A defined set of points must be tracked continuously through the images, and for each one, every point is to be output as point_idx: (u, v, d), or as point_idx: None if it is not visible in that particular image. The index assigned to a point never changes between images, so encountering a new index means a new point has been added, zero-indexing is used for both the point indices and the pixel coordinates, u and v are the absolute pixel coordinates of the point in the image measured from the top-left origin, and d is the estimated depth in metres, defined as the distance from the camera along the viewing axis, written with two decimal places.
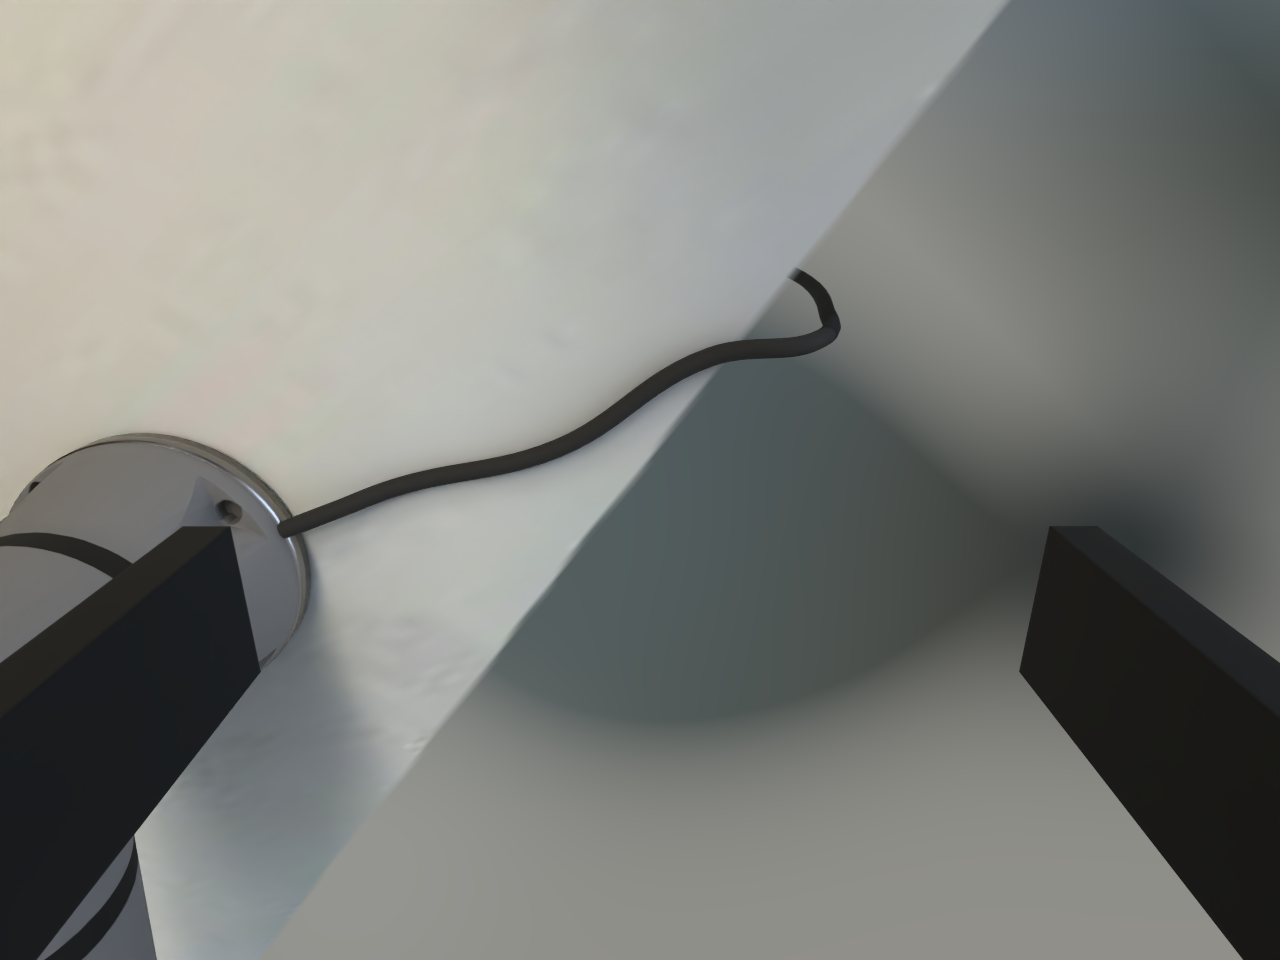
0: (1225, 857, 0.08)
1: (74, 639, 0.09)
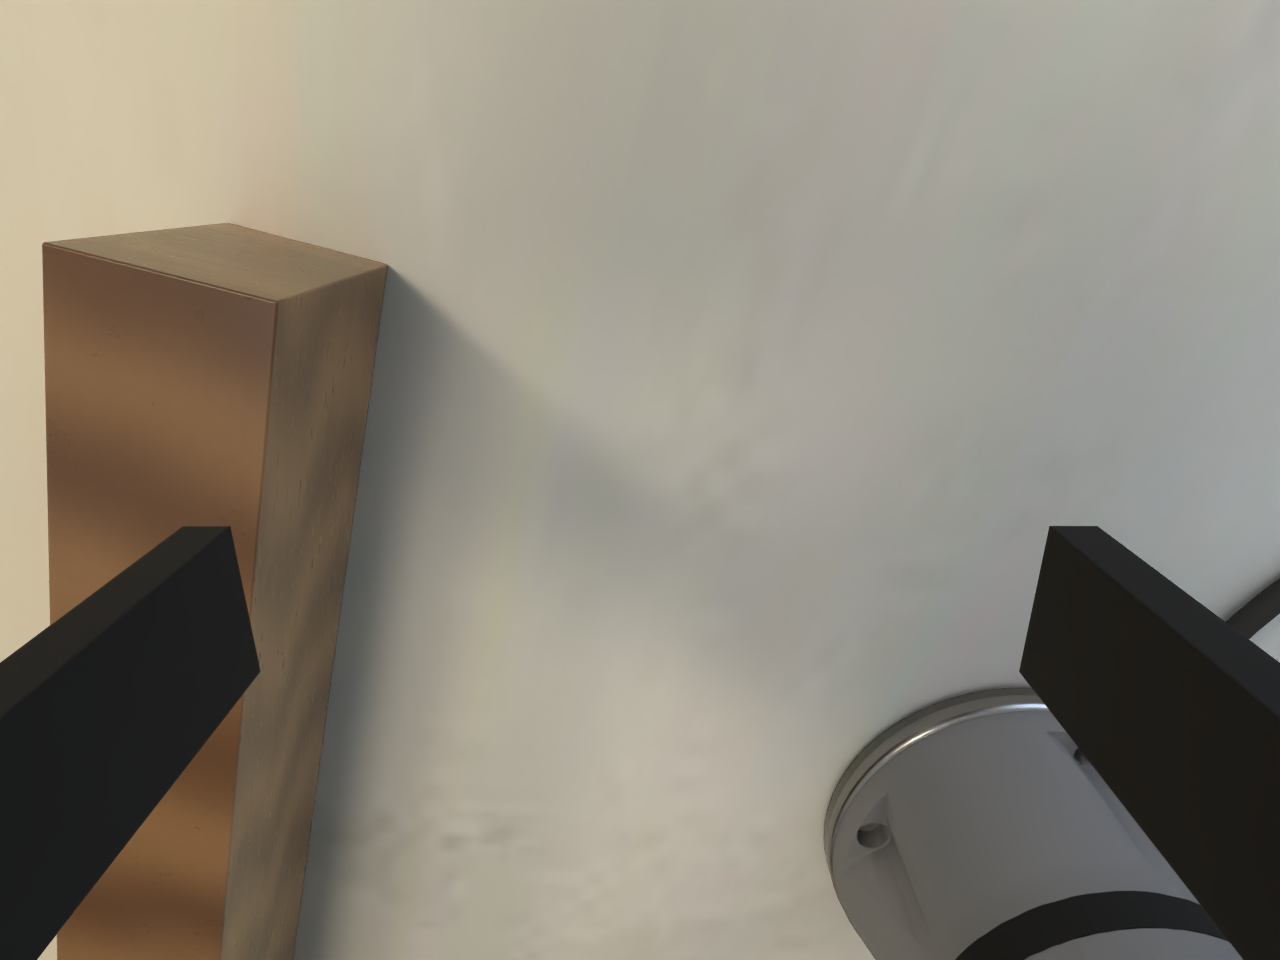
0: (1225, 857, 0.08)
1: (74, 639, 0.09)
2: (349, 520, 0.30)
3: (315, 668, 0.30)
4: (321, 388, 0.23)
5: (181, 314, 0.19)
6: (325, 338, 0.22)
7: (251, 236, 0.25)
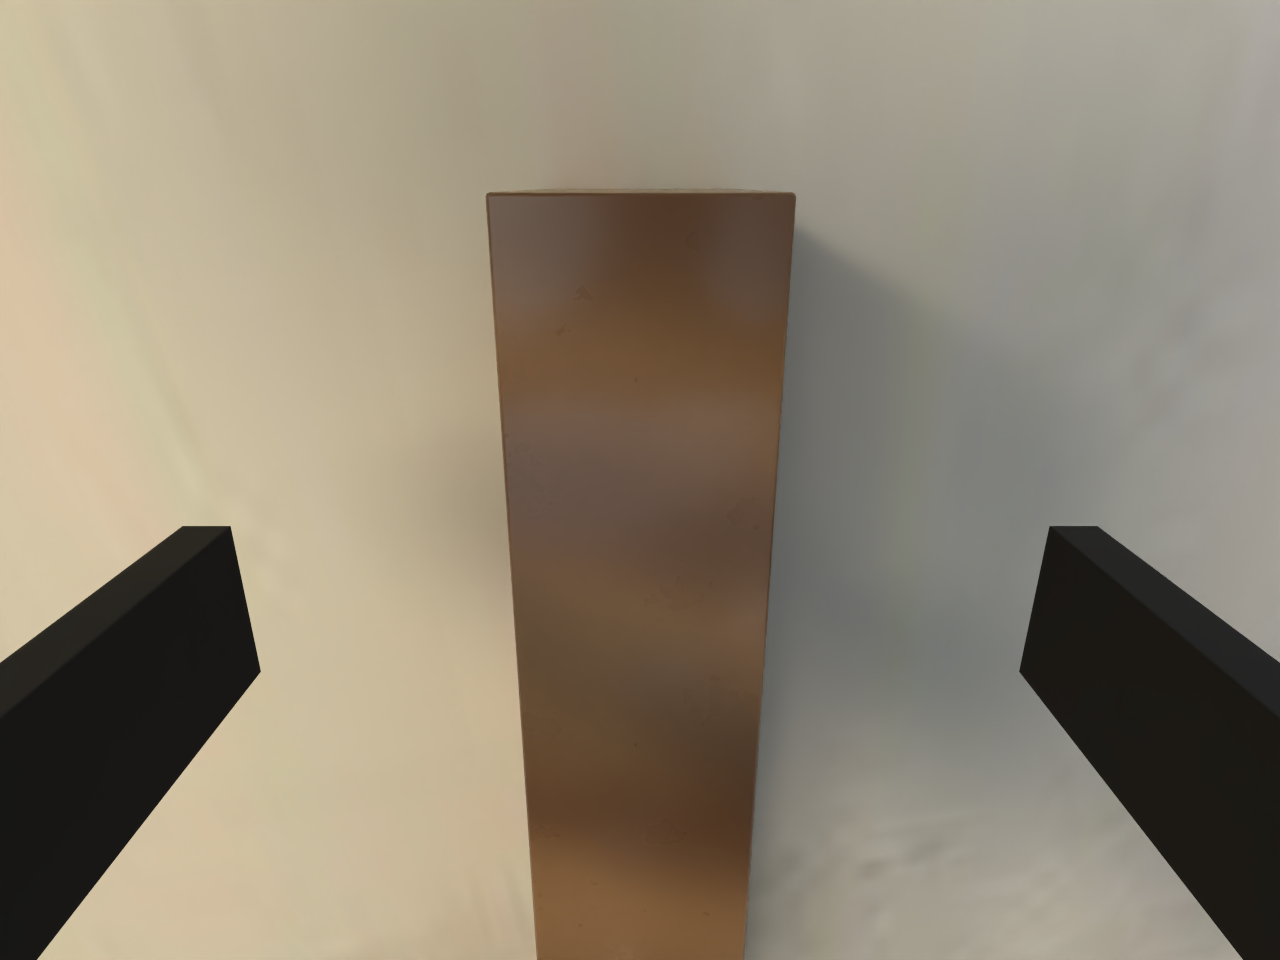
0: (1225, 857, 0.08)
1: (74, 639, 0.09)
2: None
3: None
4: None
5: (669, 246, 0.14)
6: None
7: (593, 189, 0.20)
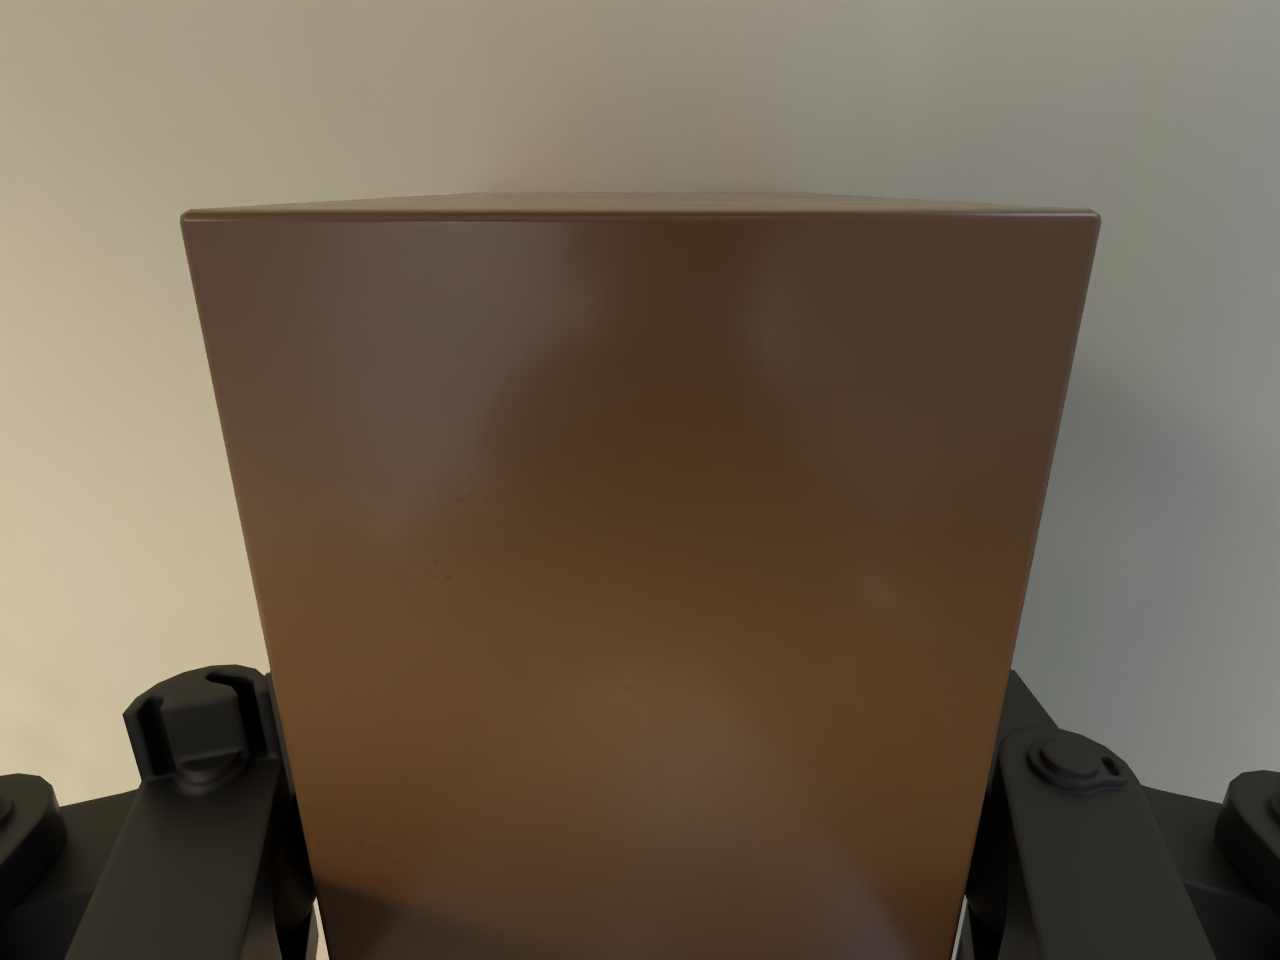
0: None
1: None
2: None
3: None
4: None
5: (724, 363, 0.05)
6: None
7: None
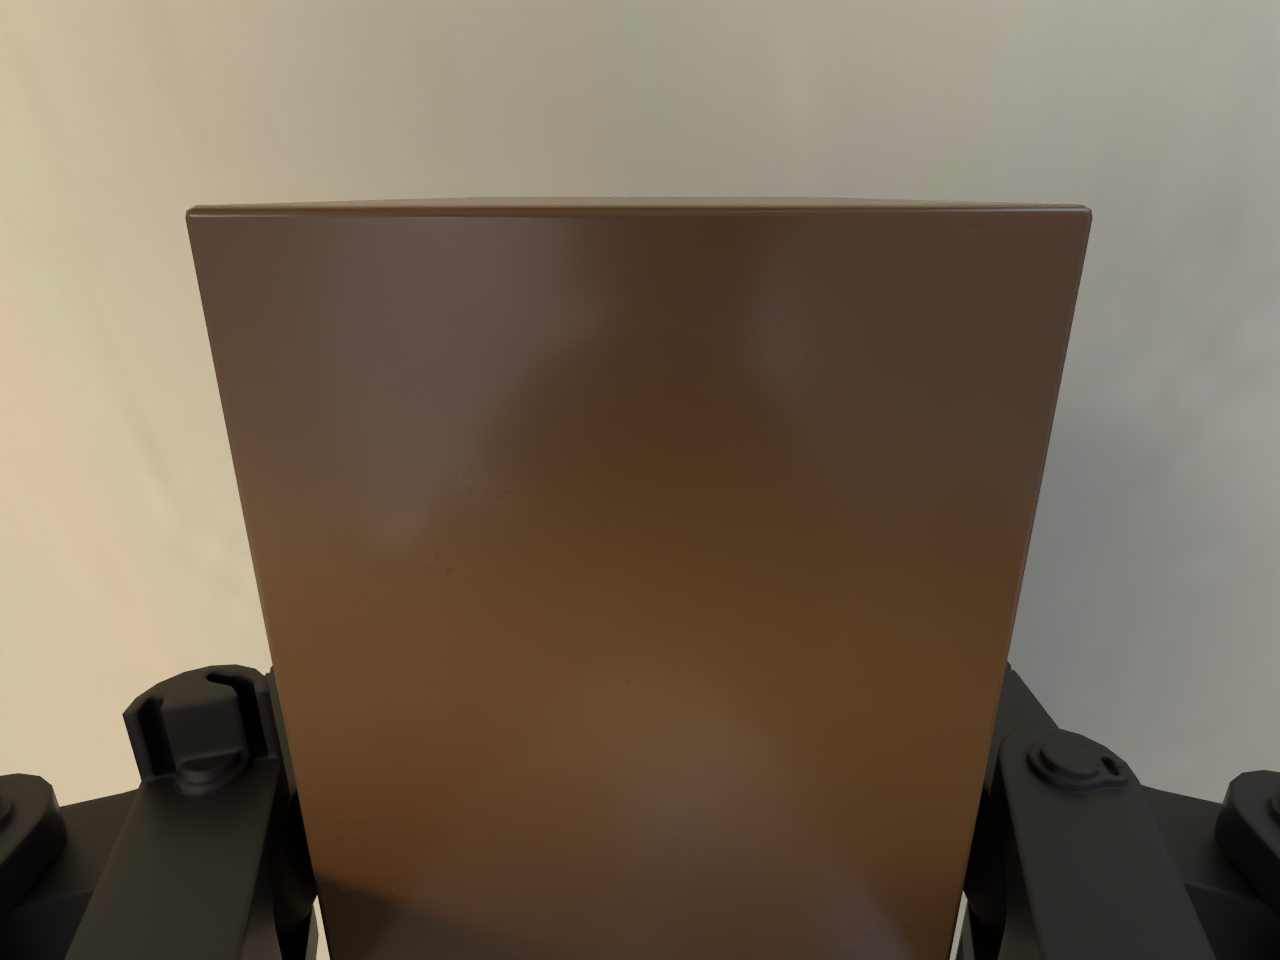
0: None
1: None
2: None
3: None
4: None
5: (720, 357, 0.05)
6: None
7: None
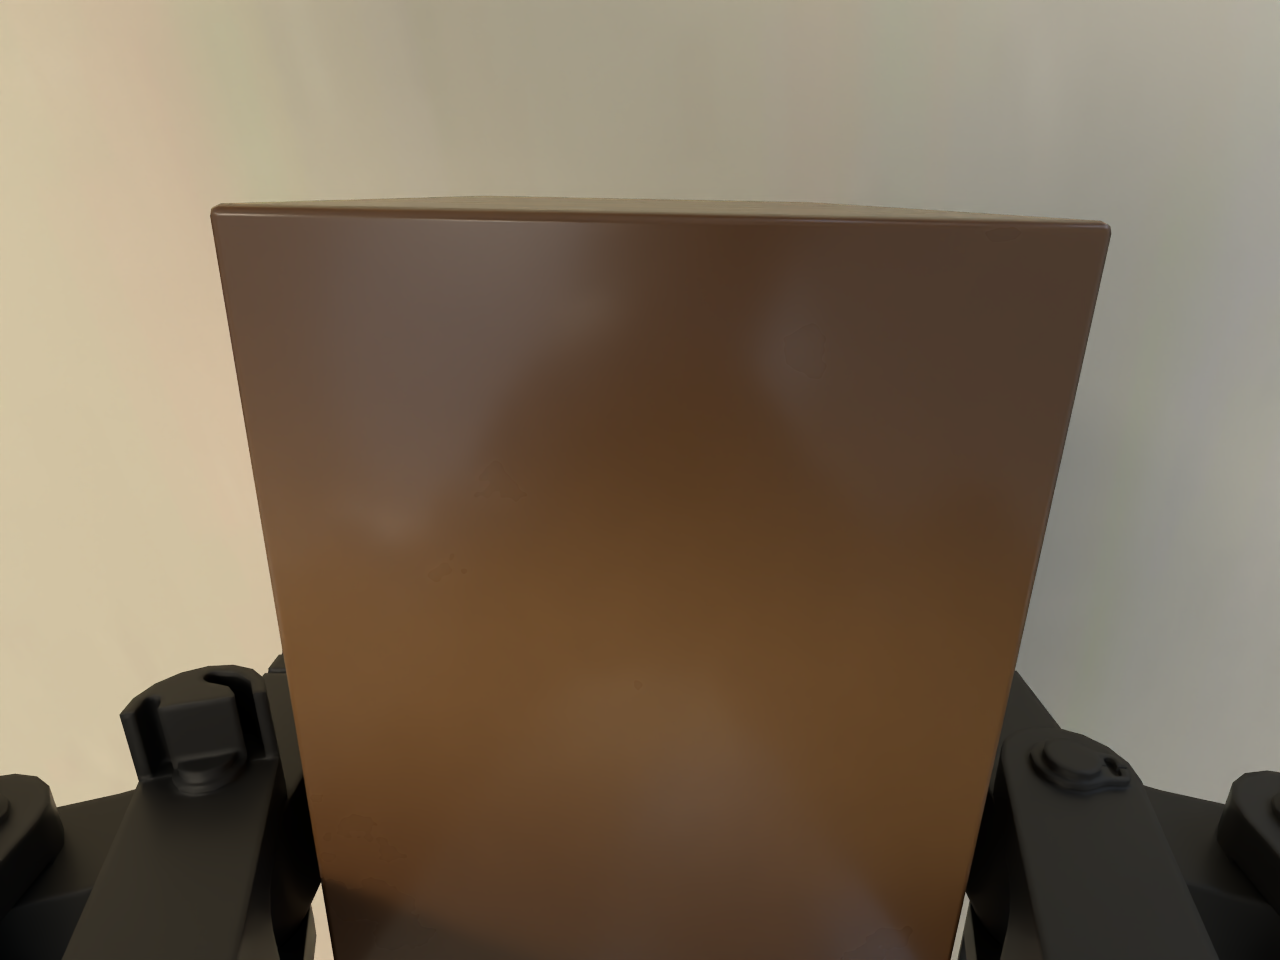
0: None
1: None
2: None
3: None
4: None
5: (741, 364, 0.05)
6: None
7: None
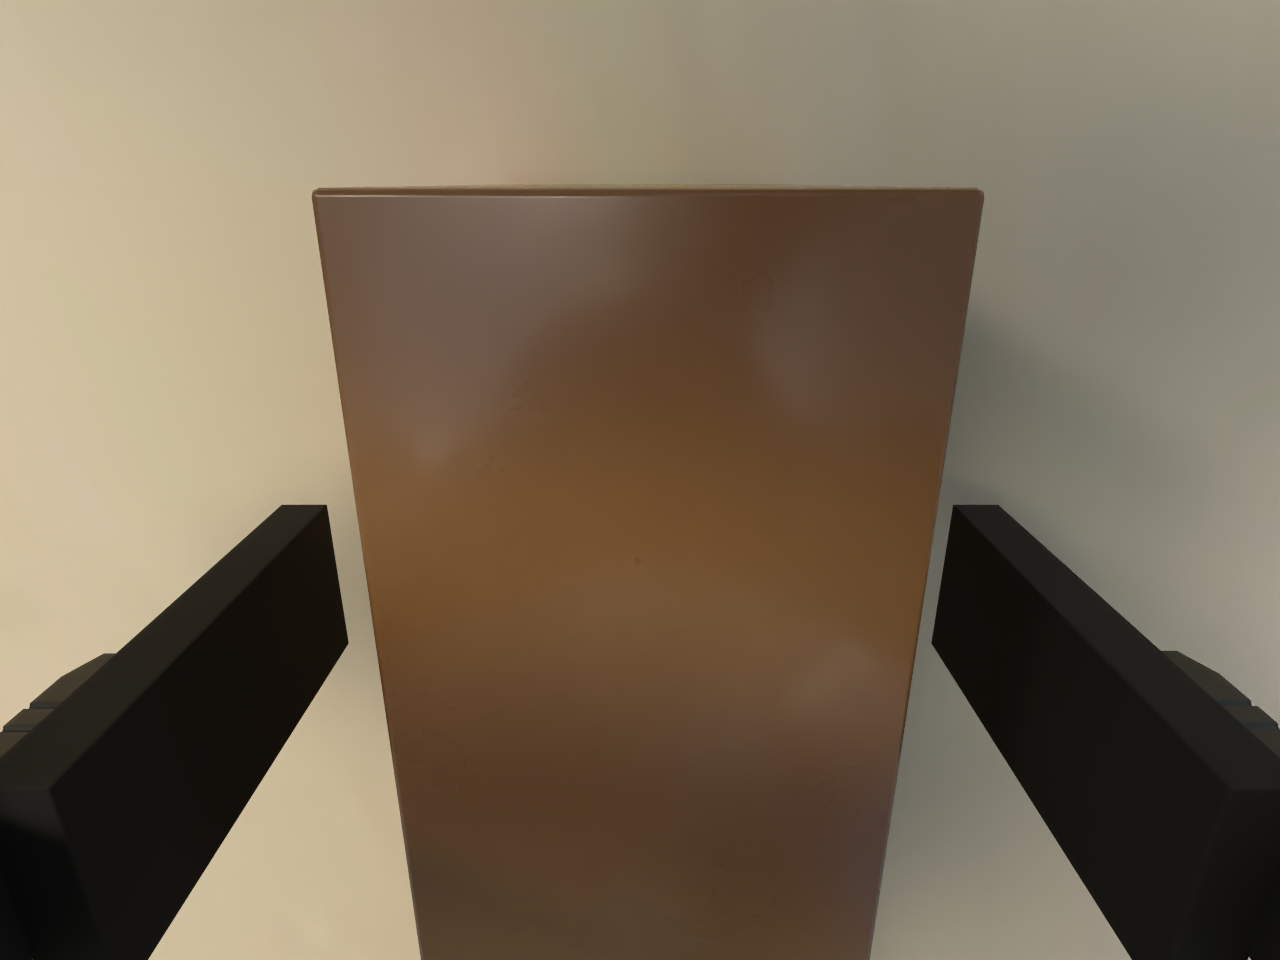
0: (1075, 799, 0.09)
1: (212, 602, 0.10)
2: None
3: None
4: None
5: (709, 302, 0.07)
6: None
7: None
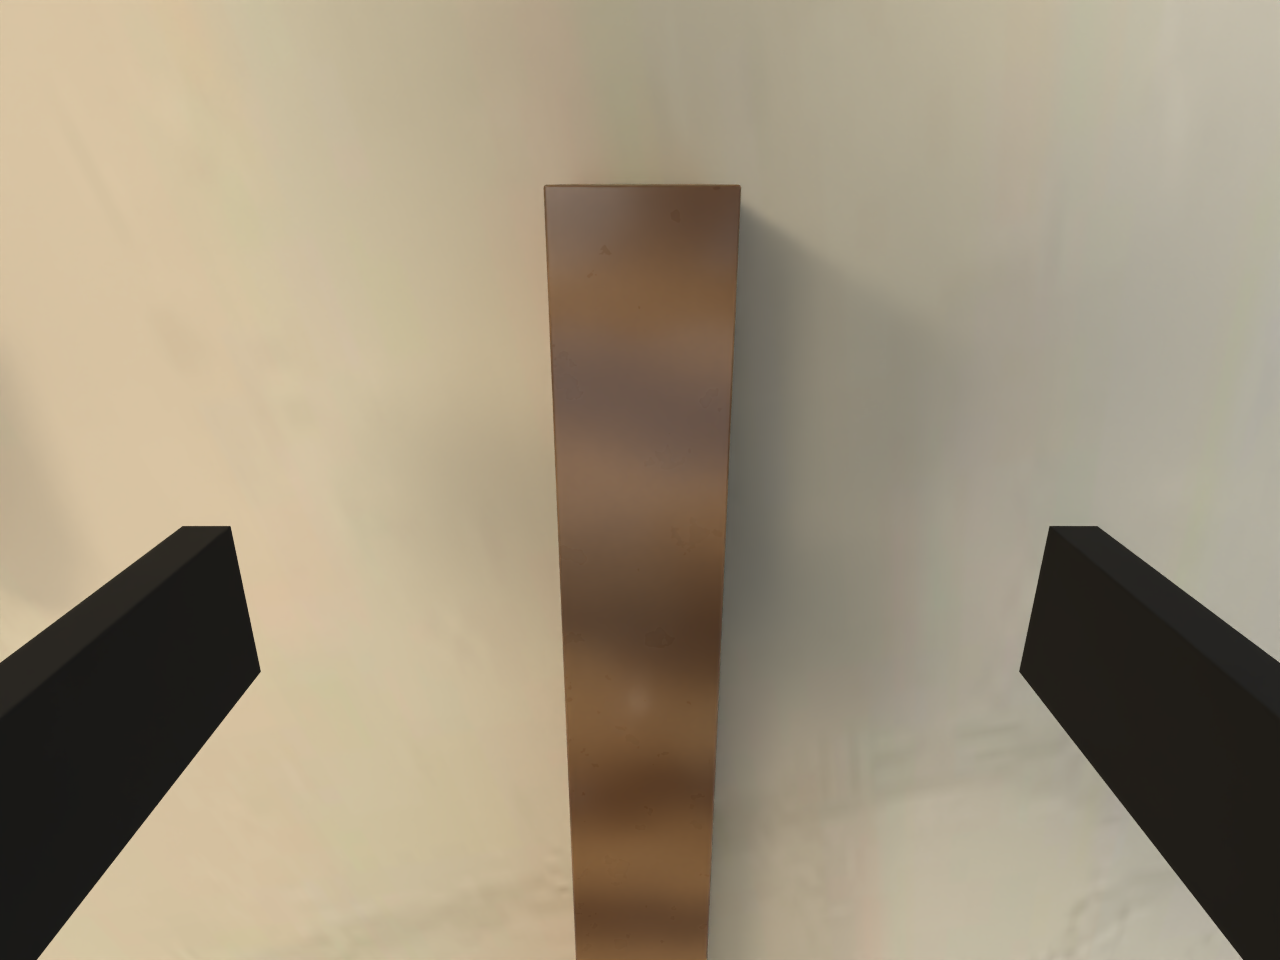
0: (1224, 856, 0.08)
1: (74, 639, 0.09)
2: None
3: None
4: None
5: (660, 219, 0.22)
6: None
7: None
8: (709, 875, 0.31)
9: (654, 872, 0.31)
